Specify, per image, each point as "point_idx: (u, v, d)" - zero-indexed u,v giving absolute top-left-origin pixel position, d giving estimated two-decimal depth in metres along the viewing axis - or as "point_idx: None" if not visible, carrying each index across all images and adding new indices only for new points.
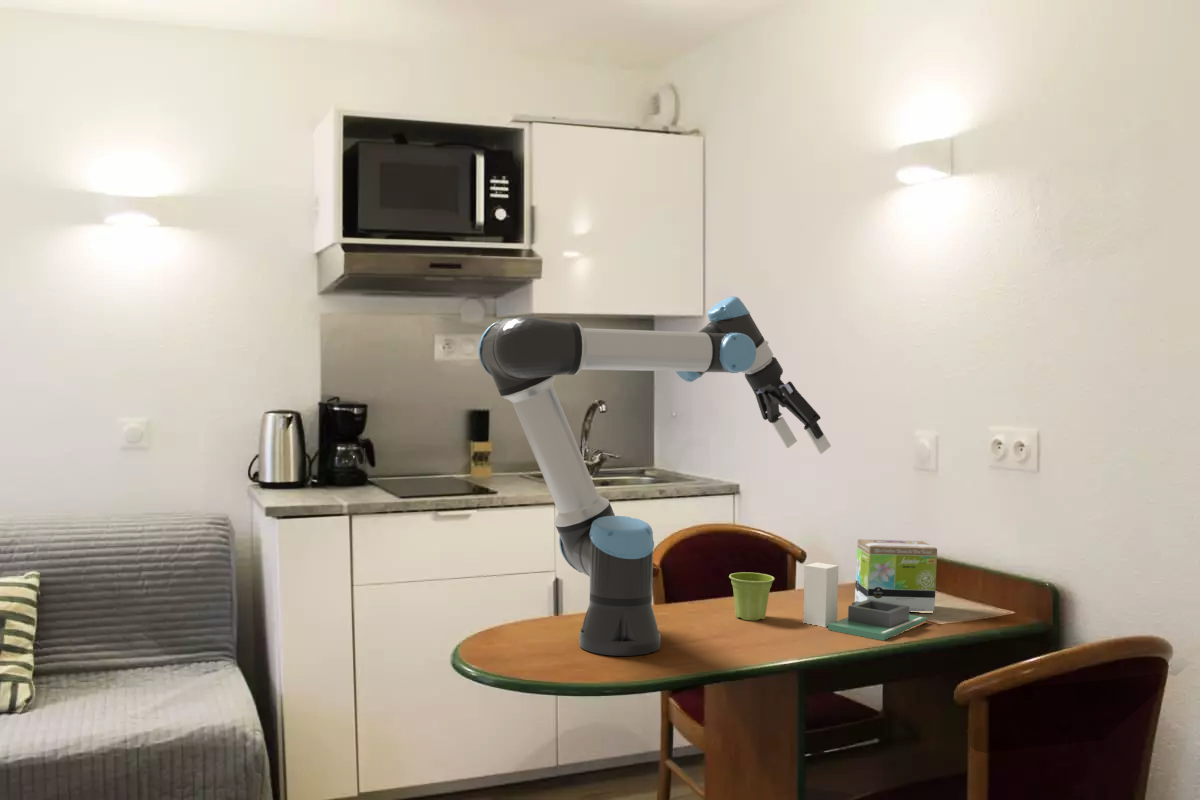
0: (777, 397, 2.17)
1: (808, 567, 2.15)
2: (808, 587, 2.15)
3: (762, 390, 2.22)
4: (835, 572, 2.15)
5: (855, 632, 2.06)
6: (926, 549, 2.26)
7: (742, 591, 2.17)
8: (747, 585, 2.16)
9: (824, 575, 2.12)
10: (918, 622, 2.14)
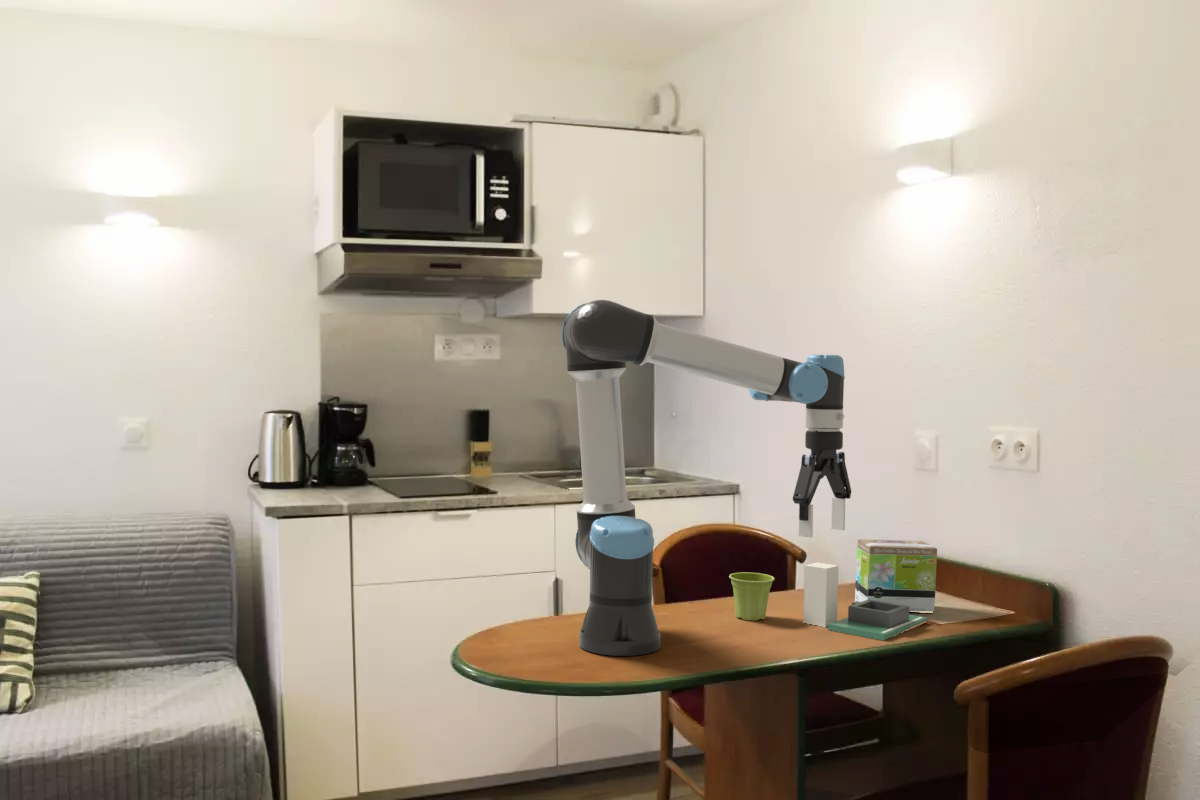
0: None
1: (808, 567, 2.15)
2: (808, 587, 2.15)
3: None
4: (835, 572, 2.15)
5: (855, 632, 2.06)
6: (926, 549, 2.26)
7: (742, 591, 2.17)
8: (747, 585, 2.16)
9: (824, 575, 2.12)
10: (918, 622, 2.14)
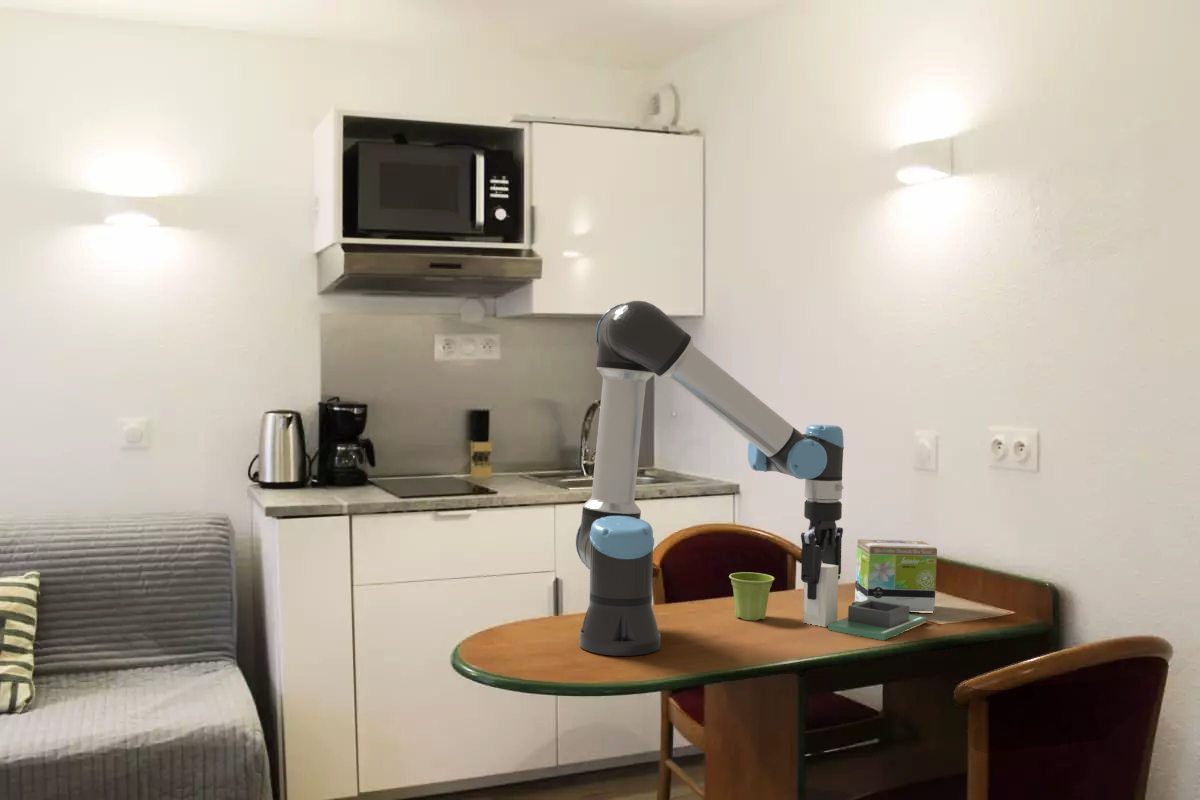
0: None
1: None
2: None
3: None
4: (835, 572, 2.15)
5: (855, 632, 2.06)
6: (926, 549, 2.26)
7: (742, 591, 2.17)
8: (747, 585, 2.16)
9: (824, 575, 2.12)
10: (918, 622, 2.14)
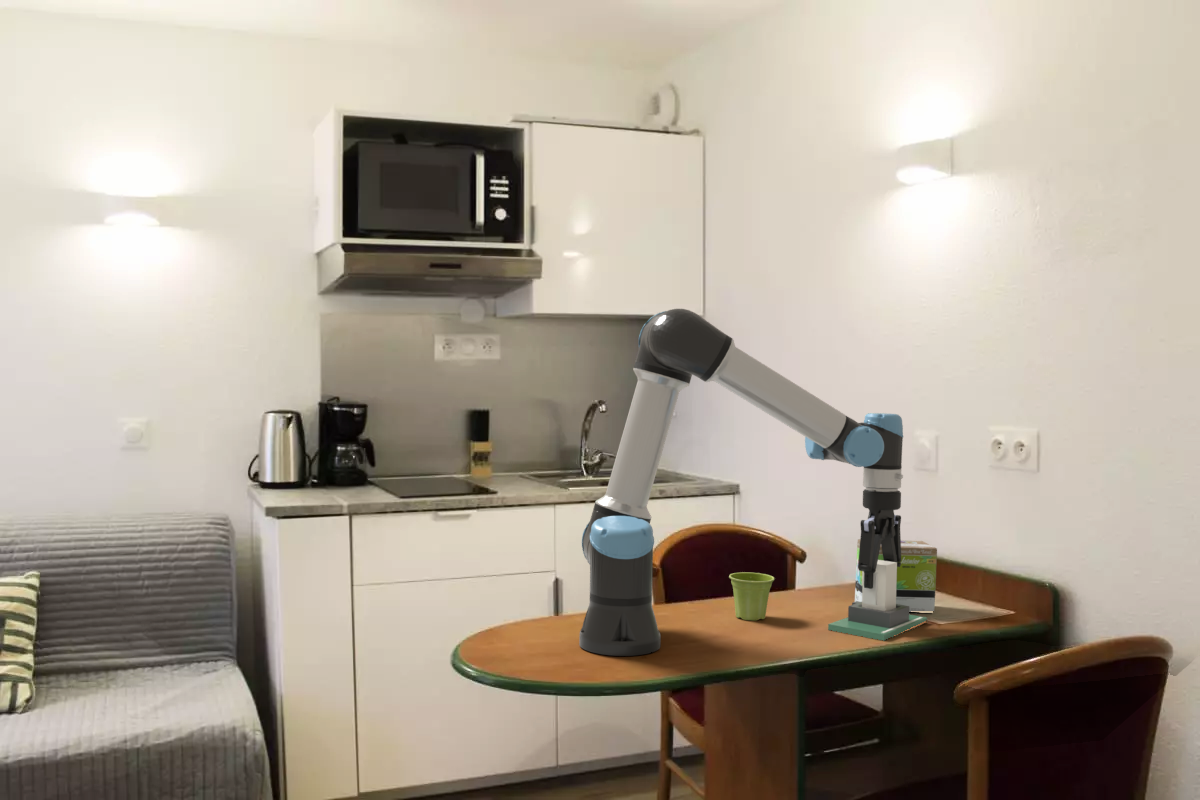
0: None
1: None
2: None
3: None
4: (893, 568, 2.13)
5: (855, 632, 2.06)
6: (926, 549, 2.26)
7: (742, 591, 2.17)
8: (747, 585, 2.16)
9: (884, 572, 2.10)
10: (918, 622, 2.14)
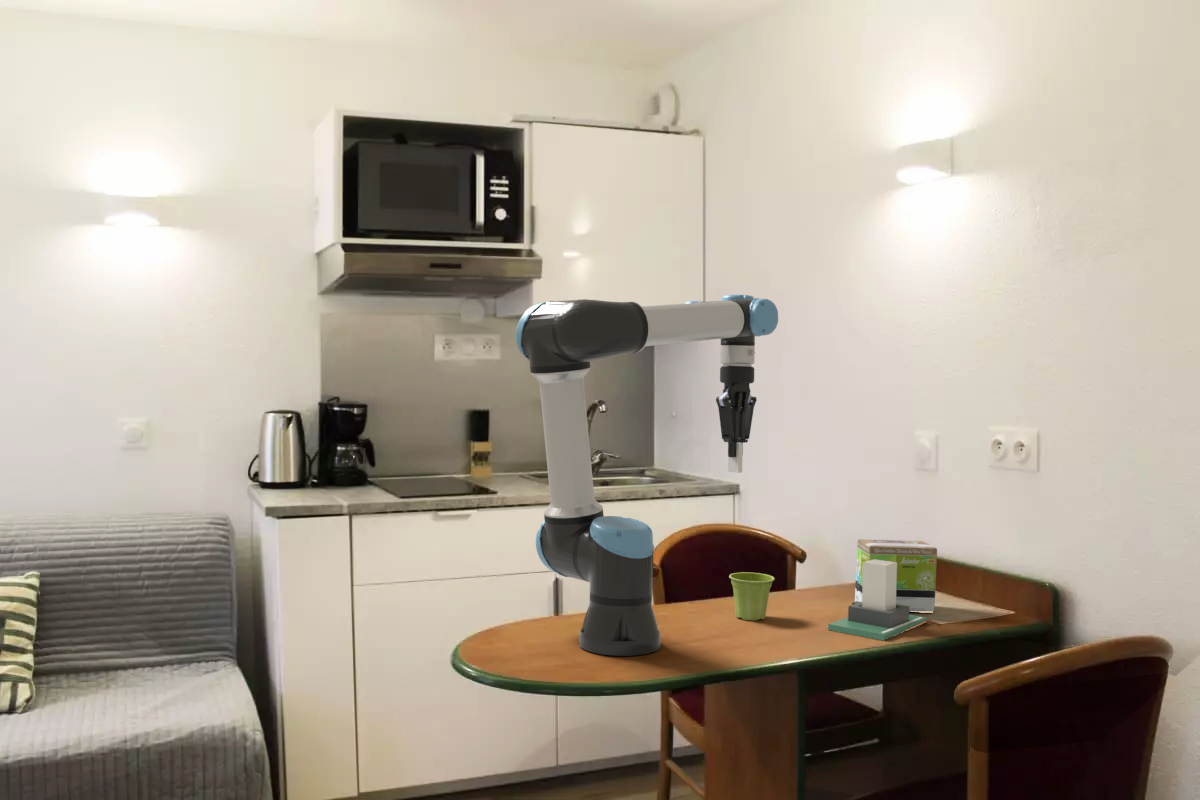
0: None
1: (867, 564, 2.13)
2: (867, 584, 2.13)
3: None
4: (893, 568, 2.13)
5: (855, 632, 2.06)
6: (926, 549, 2.26)
7: (742, 591, 2.17)
8: (747, 585, 2.16)
9: (884, 572, 2.10)
10: (918, 622, 2.14)
